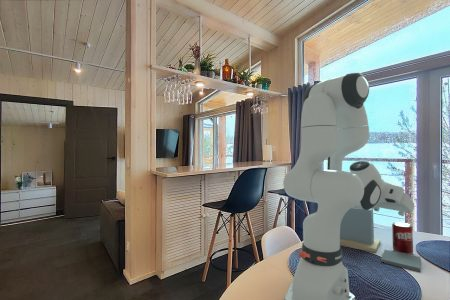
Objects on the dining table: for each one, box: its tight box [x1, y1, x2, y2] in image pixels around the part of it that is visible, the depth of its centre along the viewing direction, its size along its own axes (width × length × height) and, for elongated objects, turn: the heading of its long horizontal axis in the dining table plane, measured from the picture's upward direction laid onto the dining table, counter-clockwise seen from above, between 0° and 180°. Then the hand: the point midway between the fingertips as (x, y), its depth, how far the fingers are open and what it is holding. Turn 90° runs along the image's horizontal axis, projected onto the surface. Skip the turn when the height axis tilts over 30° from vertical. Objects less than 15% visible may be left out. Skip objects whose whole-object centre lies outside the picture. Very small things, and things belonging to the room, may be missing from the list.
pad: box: [380, 249, 421, 272], centre depth 93 cm, size 12×12×1 cm
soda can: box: [391, 221, 414, 255], centre depth 102 cm, size 7×7×12 cm
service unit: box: [340, 208, 381, 253], centre depth 112 cm, size 14×18×18 cm
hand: (389, 212), depth 97 cm, fingers open, 8 cm apart
